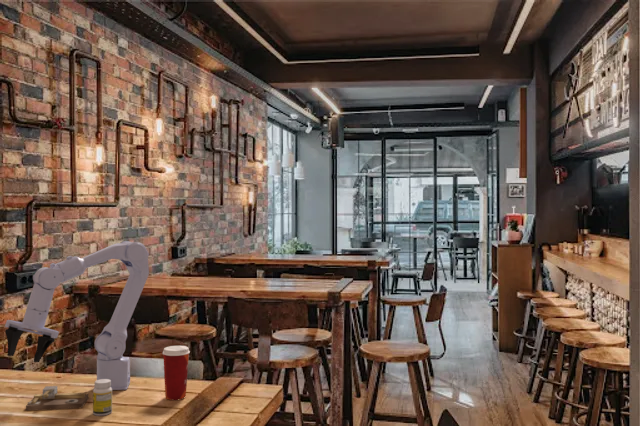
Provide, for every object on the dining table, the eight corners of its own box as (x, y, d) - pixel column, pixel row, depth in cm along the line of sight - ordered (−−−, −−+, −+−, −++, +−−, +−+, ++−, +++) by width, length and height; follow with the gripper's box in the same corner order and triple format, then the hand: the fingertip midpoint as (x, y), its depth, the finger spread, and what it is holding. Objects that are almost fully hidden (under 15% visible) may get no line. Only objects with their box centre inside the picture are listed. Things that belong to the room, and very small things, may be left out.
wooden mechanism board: (88, 398, 173) (88, 390, 173) (81, 407, 164) (82, 399, 164) (35, 400, 171) (35, 392, 171) (25, 410, 162) (25, 401, 162)
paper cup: (194, 397, 175) (195, 348, 175) (171, 403, 170) (172, 352, 170) (179, 391, 180) (179, 343, 181) (156, 397, 175) (156, 347, 175)
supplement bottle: (95, 410, 163) (96, 378, 163) (114, 410, 163) (114, 378, 163) (90, 416, 158) (90, 383, 158) (109, 416, 158) (109, 383, 158)
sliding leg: (57, 395, 171) (57, 385, 171) (50, 402, 164) (50, 393, 164) (45, 395, 170) (45, 386, 170) (38, 403, 163) (38, 393, 163)
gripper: (5, 303, 168) (-10, 353, 166) (55, 315, 167) (40, 365, 165) (19, 304, 175) (4, 352, 173) (67, 315, 174) (53, 364, 172)
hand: (23, 358), depth 169 cm, fingers open, 7 cm apart
